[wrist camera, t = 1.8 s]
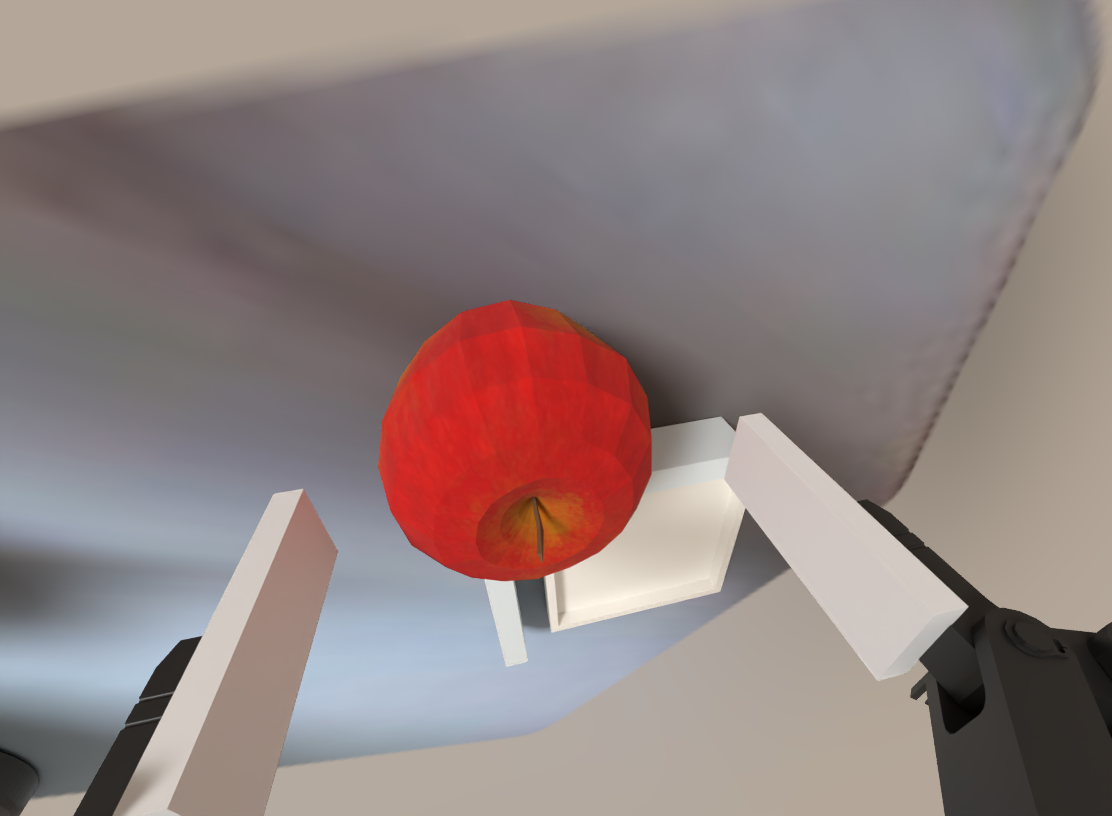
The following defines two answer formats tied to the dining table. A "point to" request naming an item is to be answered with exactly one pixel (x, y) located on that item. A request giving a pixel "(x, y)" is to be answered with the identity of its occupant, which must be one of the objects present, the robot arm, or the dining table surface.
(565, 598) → the dish
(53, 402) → the dining table surface
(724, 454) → the pen walls
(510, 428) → the apple
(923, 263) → the dining table surface
